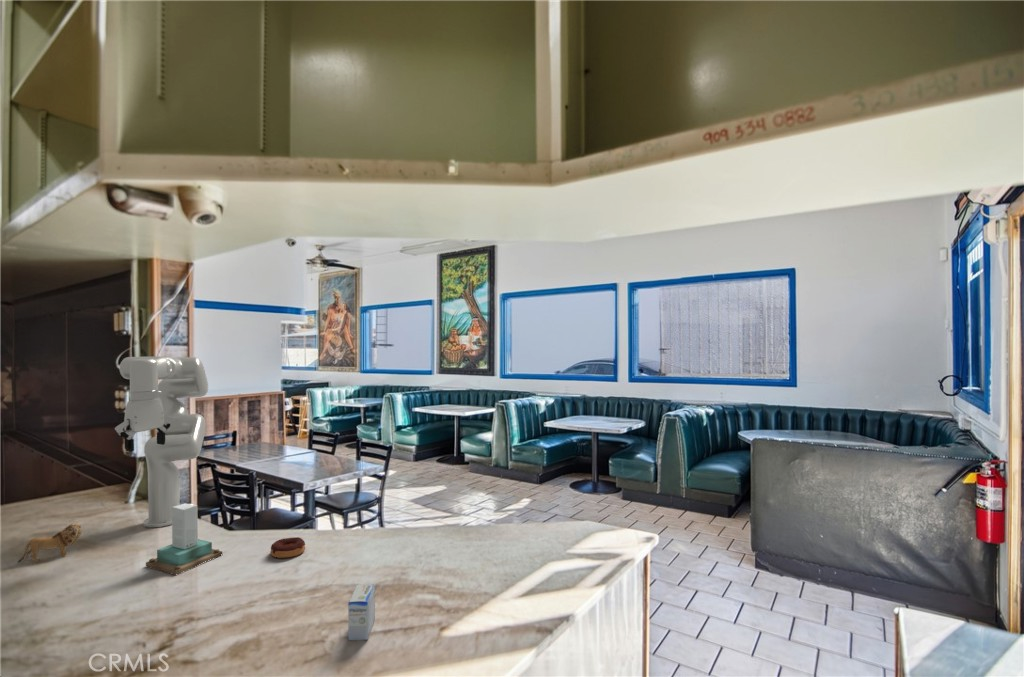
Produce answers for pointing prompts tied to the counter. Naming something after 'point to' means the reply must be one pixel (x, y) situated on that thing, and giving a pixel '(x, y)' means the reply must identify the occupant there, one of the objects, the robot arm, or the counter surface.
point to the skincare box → (184, 526)
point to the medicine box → (361, 612)
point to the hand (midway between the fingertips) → (145, 447)
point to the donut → (287, 547)
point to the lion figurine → (53, 542)
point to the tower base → (185, 567)
